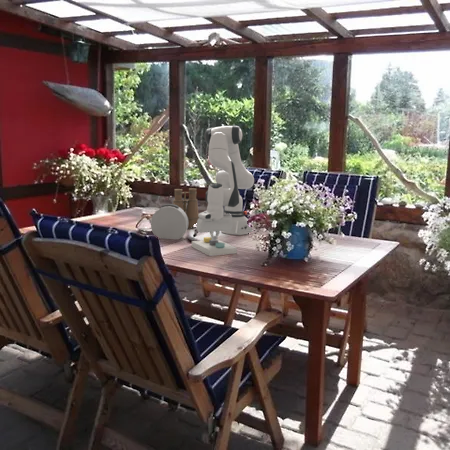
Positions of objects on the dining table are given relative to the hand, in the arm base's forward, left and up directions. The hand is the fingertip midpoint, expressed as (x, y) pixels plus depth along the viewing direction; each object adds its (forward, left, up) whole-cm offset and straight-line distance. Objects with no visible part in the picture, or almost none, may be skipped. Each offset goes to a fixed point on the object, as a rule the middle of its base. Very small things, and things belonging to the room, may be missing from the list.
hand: (214, 239), depth 285 cm
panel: (0, 0, -6) cm, 6 cm away
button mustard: (0, -7, -5) cm, 9 cm away
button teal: (0, +7, -5) cm, 9 cm away
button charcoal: (0, 0, -5) cm, 5 cm away
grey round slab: (+10, -37, -6) cm, 39 cm away
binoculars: (-11, -61, -6) cm, 62 cm away
